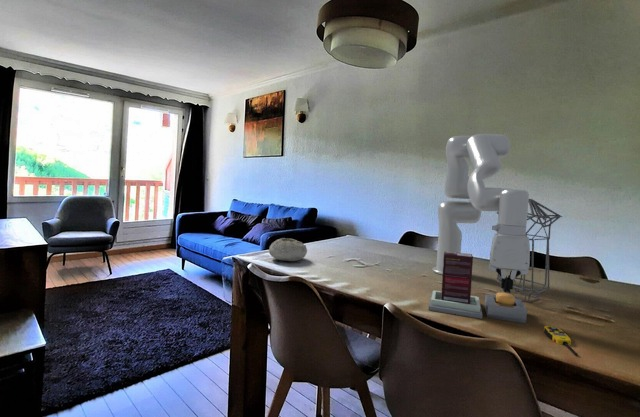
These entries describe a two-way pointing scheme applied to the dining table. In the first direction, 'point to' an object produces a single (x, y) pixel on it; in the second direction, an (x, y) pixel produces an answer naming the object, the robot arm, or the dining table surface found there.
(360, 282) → the dining table surface
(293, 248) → the grey rounded lump
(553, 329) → the yellow black handheld tool
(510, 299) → the button
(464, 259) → the supplement box
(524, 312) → the button housing
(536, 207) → the geometric lantern
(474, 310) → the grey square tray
